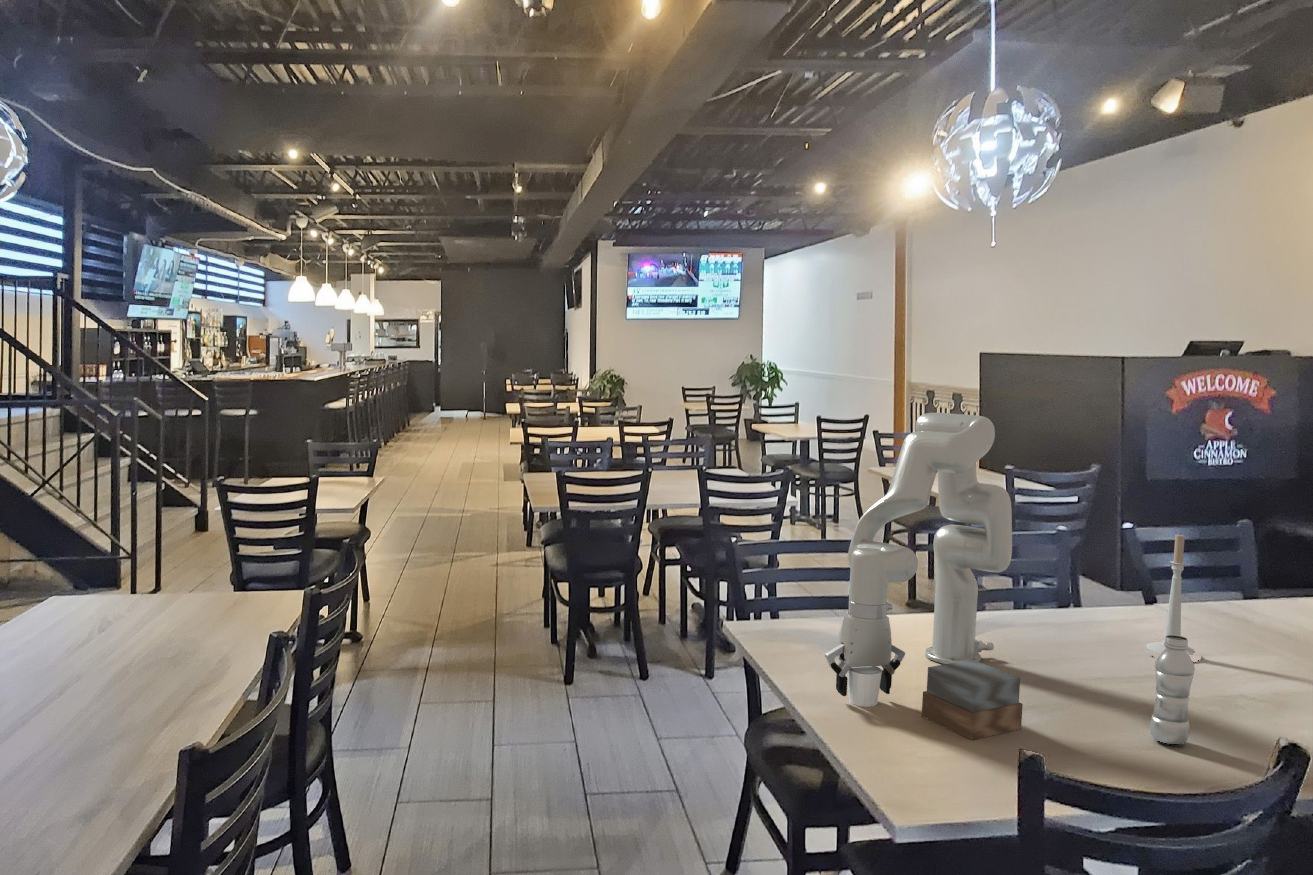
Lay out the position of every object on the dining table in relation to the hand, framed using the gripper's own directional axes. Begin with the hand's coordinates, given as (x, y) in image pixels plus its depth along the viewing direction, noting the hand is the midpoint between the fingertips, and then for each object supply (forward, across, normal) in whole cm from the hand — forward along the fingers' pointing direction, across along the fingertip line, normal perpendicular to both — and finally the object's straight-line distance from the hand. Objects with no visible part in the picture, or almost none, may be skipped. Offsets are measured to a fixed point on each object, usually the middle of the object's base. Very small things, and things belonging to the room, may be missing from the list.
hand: (863, 692), depth 199 cm
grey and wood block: (+2, -16, +14) cm, 21 cm away
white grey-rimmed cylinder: (+2, 0, 0) cm, 2 cm away
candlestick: (+2, -90, -19) cm, 92 cm away
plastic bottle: (+2, -48, +29) cm, 56 cm away
